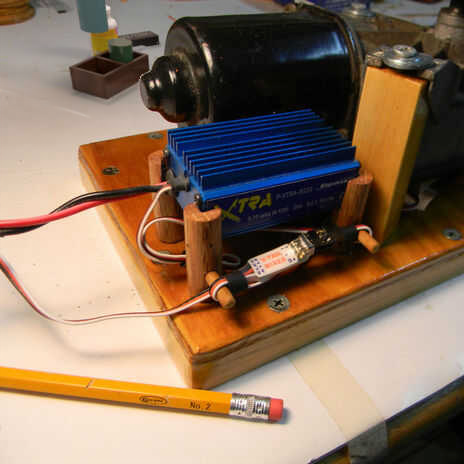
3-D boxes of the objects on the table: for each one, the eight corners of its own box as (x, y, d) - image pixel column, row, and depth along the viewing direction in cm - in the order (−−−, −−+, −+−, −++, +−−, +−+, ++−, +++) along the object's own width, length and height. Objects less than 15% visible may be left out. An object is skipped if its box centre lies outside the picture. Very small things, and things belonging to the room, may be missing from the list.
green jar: (107, 77, 110) (102, 42, 105) (120, 70, 114) (116, 36, 109) (126, 82, 109) (122, 47, 104) (139, 75, 113) (136, 41, 108)
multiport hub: (159, 43, 132) (159, 35, 131) (124, 50, 125) (123, 41, 124) (150, 38, 134) (149, 30, 133) (115, 45, 127) (114, 36, 126)
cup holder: (73, 91, 104) (68, 66, 100) (119, 68, 116) (116, 45, 112) (107, 102, 102) (104, 77, 99) (150, 77, 115) (148, 54, 111)
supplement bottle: (124, 65, 118) (118, 11, 110) (96, 68, 114) (88, 12, 106) (116, 55, 122) (109, 2, 114) (89, 57, 118) (80, 3, 110)
